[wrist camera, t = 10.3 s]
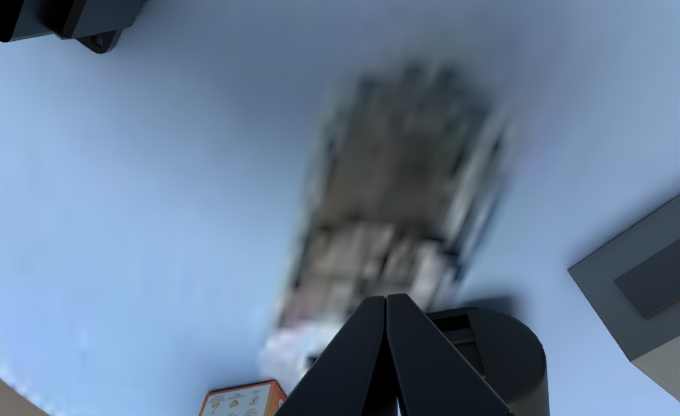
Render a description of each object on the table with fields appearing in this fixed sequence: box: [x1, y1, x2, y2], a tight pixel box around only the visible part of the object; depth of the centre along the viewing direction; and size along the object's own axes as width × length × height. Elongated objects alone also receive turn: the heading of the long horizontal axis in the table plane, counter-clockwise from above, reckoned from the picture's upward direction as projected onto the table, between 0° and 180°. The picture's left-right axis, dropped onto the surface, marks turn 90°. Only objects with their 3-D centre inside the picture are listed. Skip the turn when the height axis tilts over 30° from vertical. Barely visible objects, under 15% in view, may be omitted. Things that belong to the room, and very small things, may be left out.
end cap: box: [425, 308, 550, 416], centre depth 23 cm, size 10×7×7 cm
